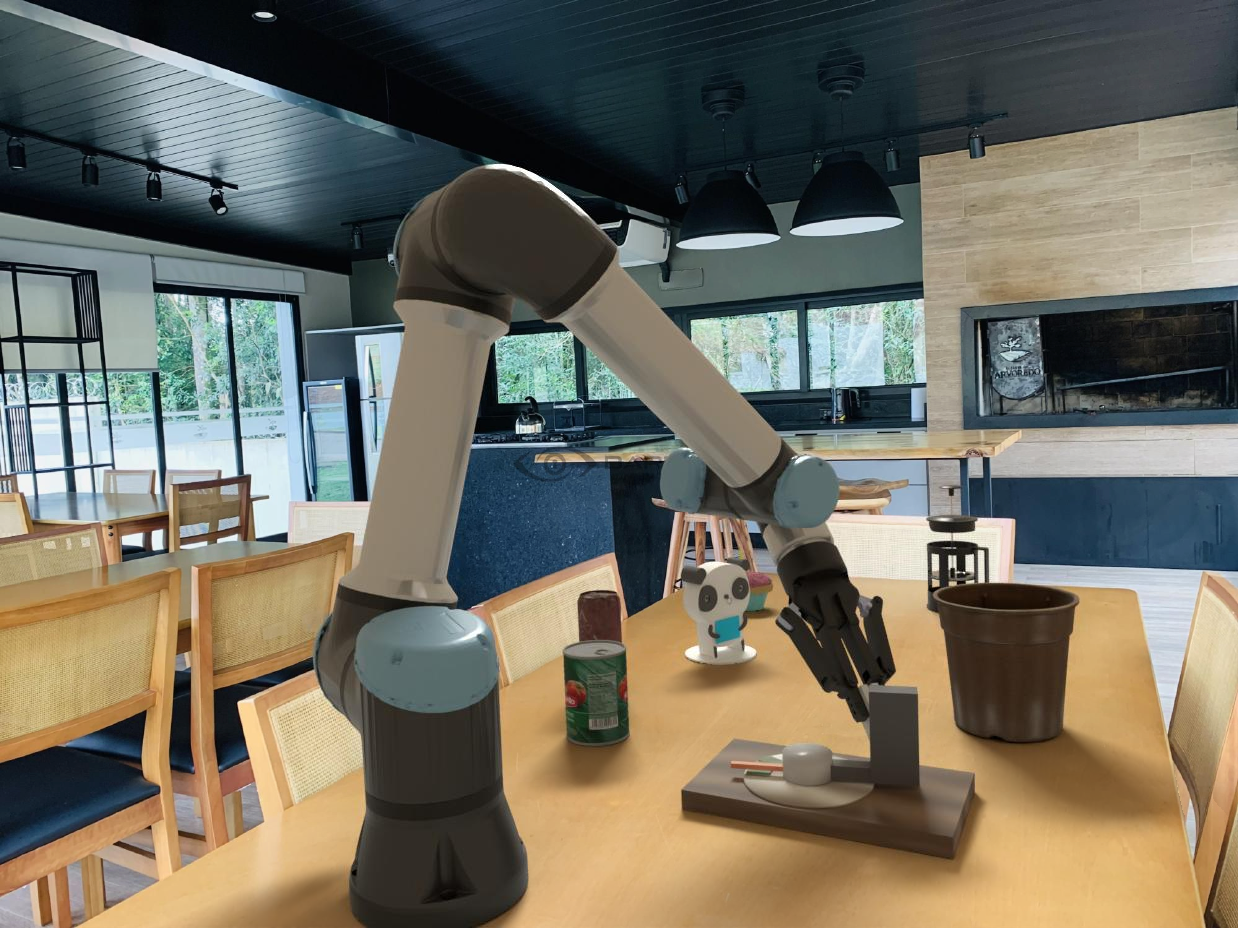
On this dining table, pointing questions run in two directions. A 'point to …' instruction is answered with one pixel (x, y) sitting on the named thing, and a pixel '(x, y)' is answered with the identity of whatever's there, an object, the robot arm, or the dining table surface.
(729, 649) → the panda figurine
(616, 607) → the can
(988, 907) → the dining table surface
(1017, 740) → the plant pot
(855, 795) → the dial board
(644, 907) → the dining table surface
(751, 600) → the cupcake
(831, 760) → the dial crank
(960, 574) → the french press
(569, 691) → the canned tomato
